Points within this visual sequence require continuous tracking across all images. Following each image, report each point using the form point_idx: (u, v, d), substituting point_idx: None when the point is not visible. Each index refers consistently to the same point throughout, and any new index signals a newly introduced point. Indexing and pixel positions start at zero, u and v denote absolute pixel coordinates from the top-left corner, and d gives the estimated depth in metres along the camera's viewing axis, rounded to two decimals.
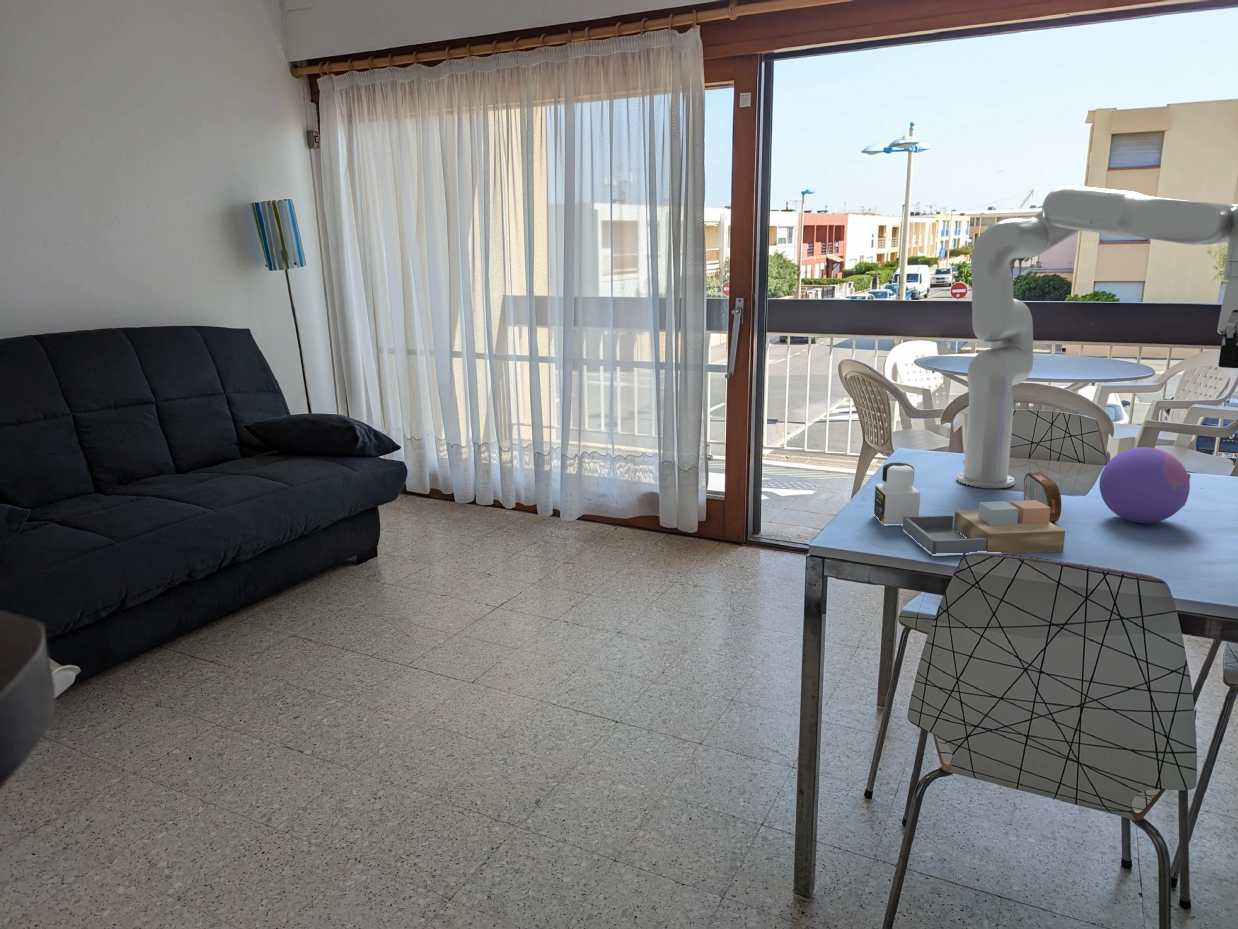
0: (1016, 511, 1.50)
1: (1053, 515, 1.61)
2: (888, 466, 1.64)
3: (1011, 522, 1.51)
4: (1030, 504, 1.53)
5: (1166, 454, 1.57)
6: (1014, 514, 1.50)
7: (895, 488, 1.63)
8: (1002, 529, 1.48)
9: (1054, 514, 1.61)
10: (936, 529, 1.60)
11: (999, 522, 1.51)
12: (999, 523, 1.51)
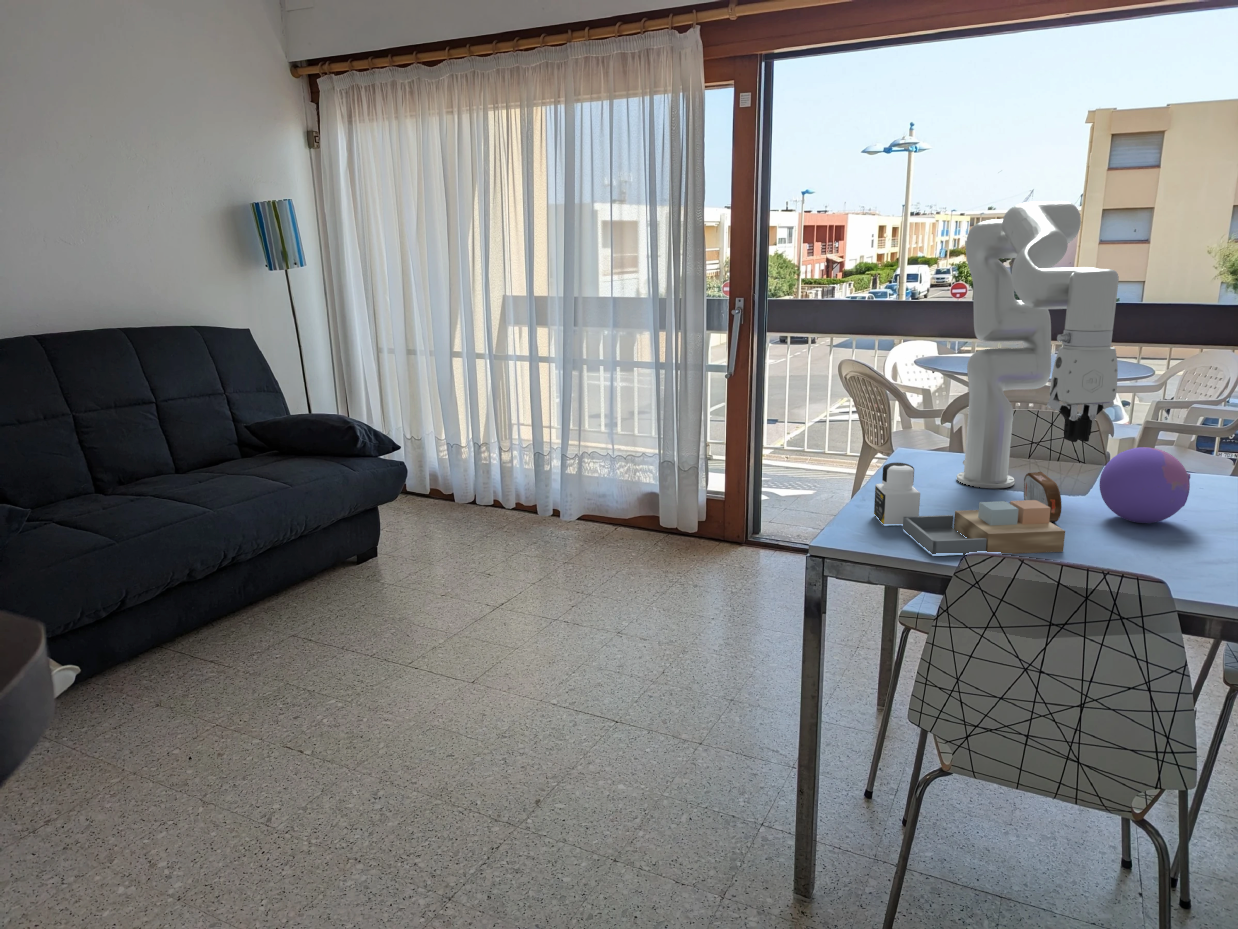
0: (1016, 511, 1.50)
1: (1053, 515, 1.61)
2: (888, 466, 1.64)
3: (1011, 522, 1.51)
4: (1030, 504, 1.53)
5: (1166, 454, 1.57)
6: (1014, 514, 1.50)
7: (895, 488, 1.63)
8: (1002, 529, 1.48)
9: (1054, 514, 1.61)
10: (936, 529, 1.60)
11: (999, 522, 1.51)
12: (999, 523, 1.51)
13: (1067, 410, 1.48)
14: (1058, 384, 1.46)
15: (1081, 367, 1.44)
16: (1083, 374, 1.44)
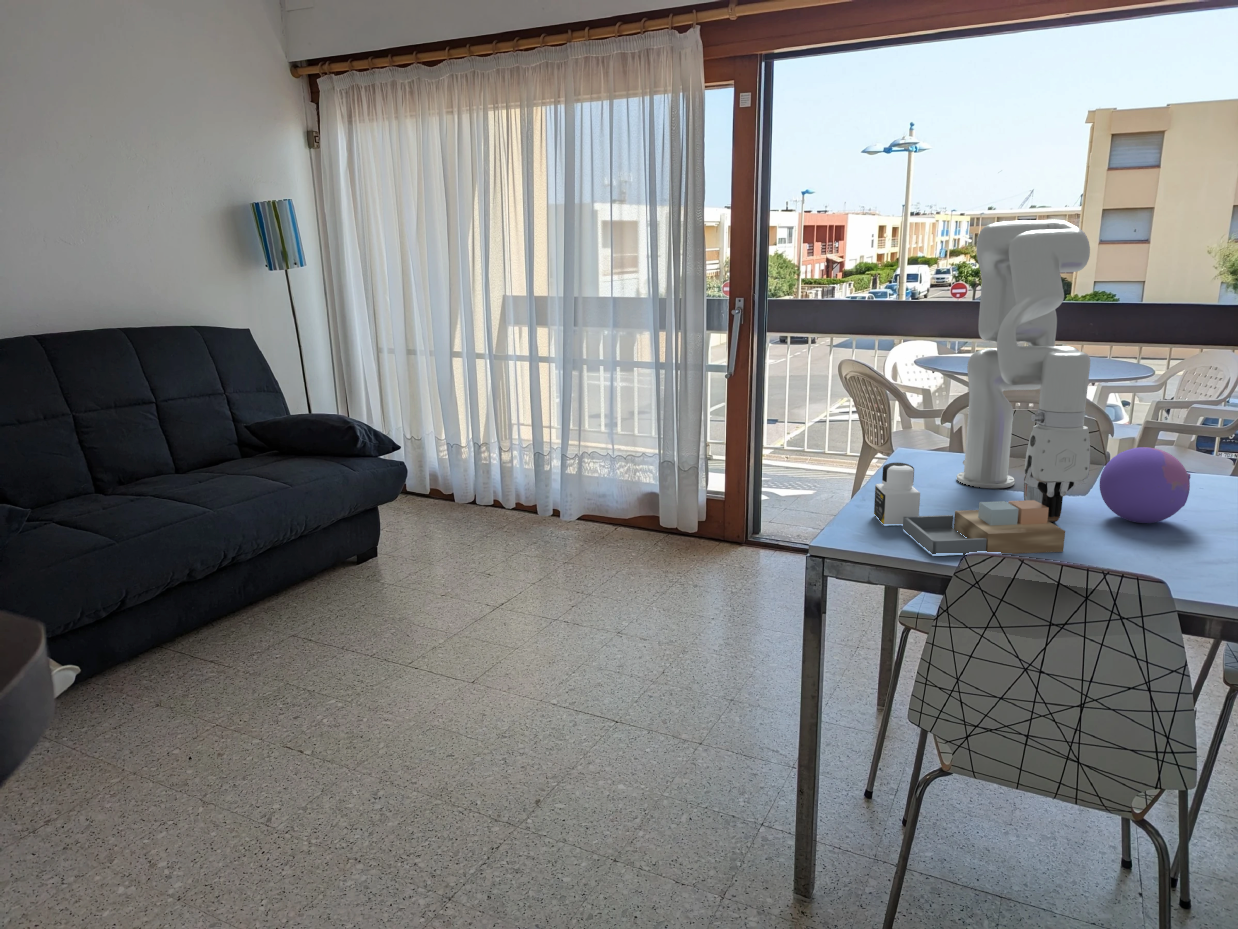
0: (1016, 511, 1.50)
1: None
2: (888, 466, 1.64)
3: (1011, 522, 1.51)
4: (1028, 504, 1.53)
5: (1166, 454, 1.57)
6: (1014, 514, 1.50)
7: (895, 488, 1.63)
8: (1002, 529, 1.48)
9: None
10: (936, 529, 1.60)
11: (999, 522, 1.51)
12: (999, 523, 1.51)
13: (1044, 486, 1.51)
14: (1032, 462, 1.50)
15: (1054, 446, 1.47)
16: (1056, 453, 1.48)
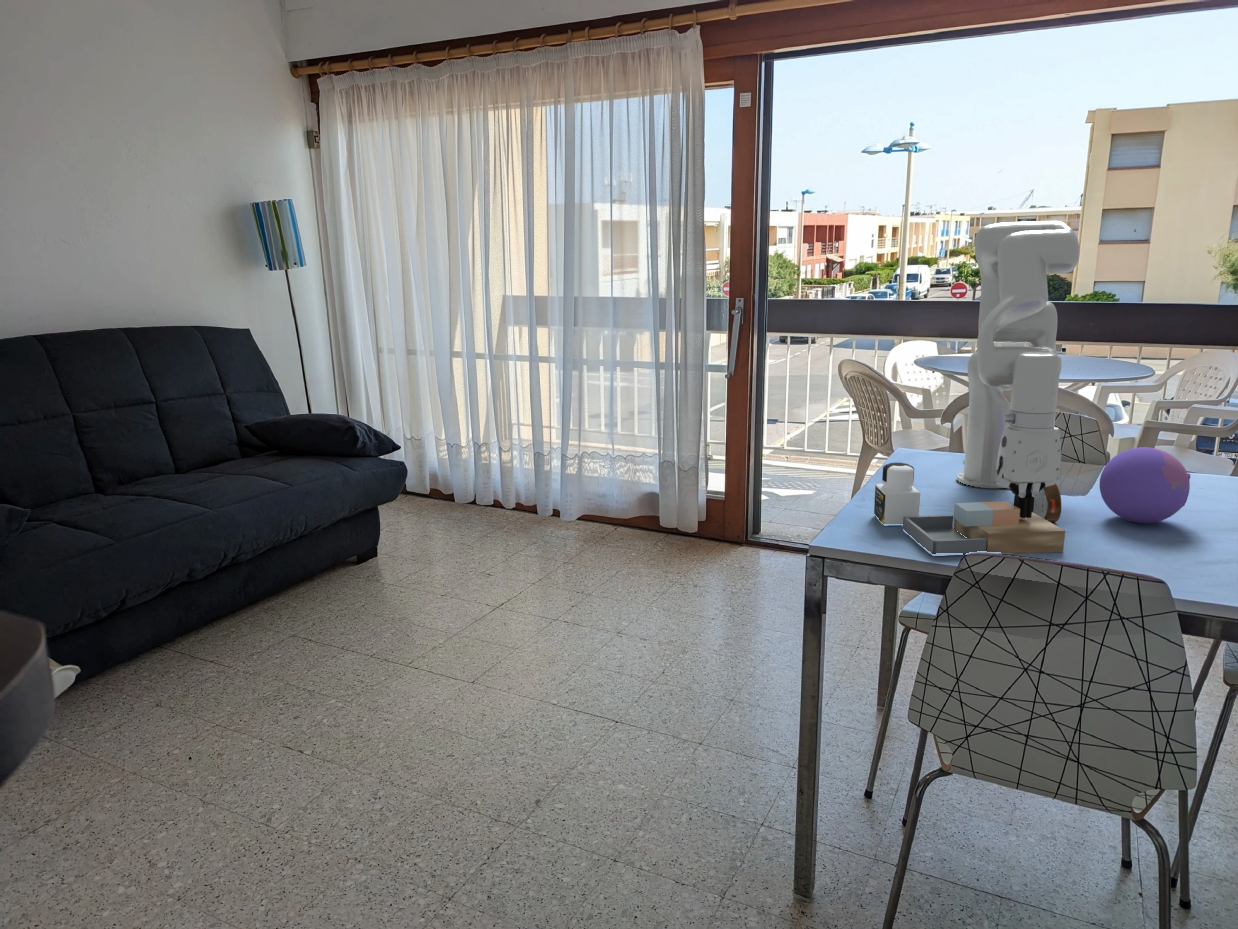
0: (991, 512, 1.50)
1: (1053, 515, 1.61)
2: (888, 466, 1.64)
3: (986, 523, 1.51)
4: (1000, 505, 1.53)
5: (1166, 454, 1.57)
6: (989, 515, 1.50)
7: (895, 488, 1.63)
8: (1002, 529, 1.48)
9: (1054, 514, 1.61)
10: (936, 529, 1.60)
11: (974, 523, 1.51)
12: (974, 524, 1.51)
13: (1016, 487, 1.51)
14: (1004, 463, 1.49)
15: (1025, 447, 1.47)
16: (1027, 454, 1.47)
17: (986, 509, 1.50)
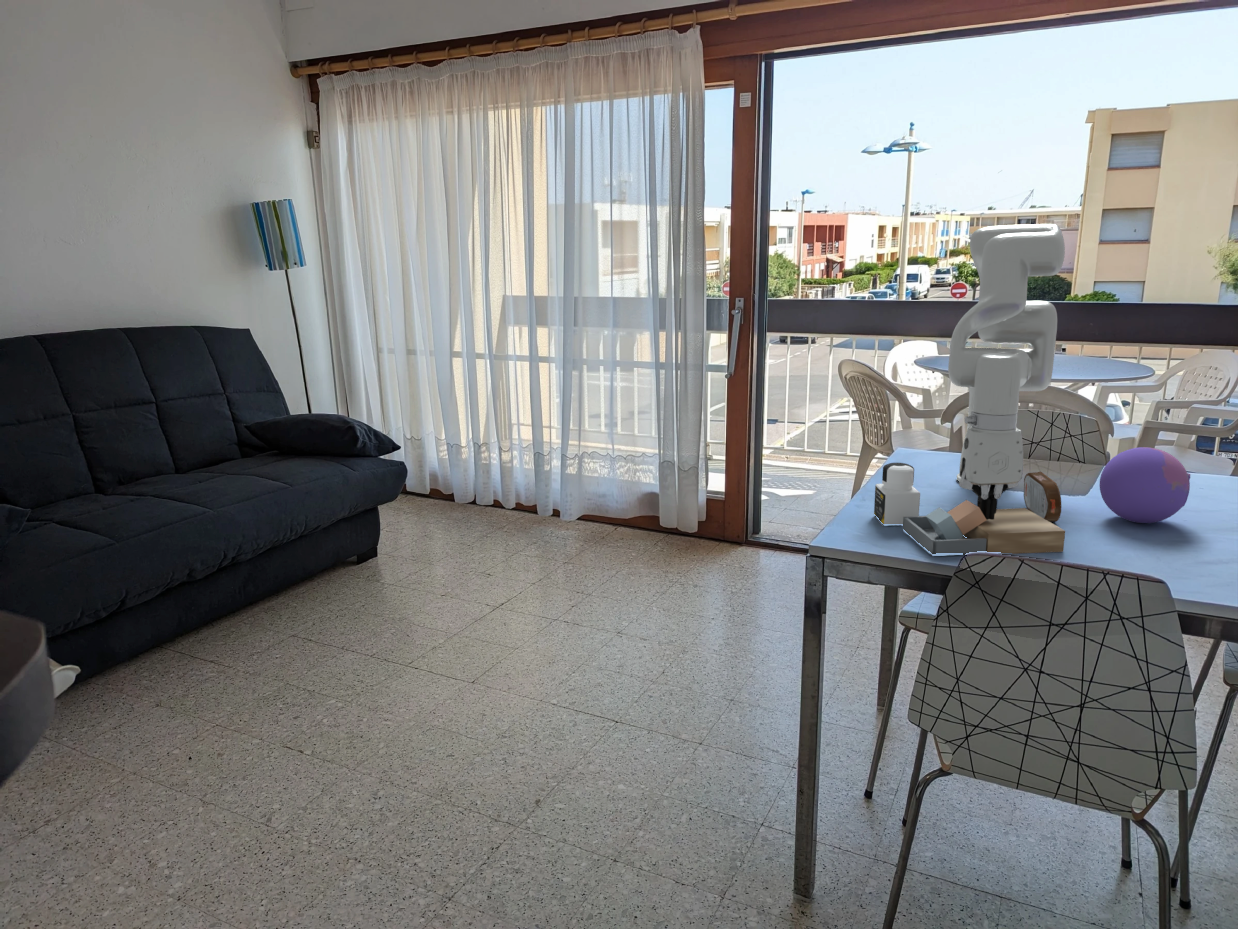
0: (940, 524, 1.50)
1: (1053, 515, 1.61)
2: (888, 466, 1.64)
3: (951, 521, 1.50)
4: (961, 510, 1.53)
5: (1166, 454, 1.57)
6: (943, 523, 1.50)
7: (895, 488, 1.63)
8: (1002, 529, 1.48)
9: (1054, 514, 1.61)
10: None
11: (957, 530, 1.51)
12: (957, 529, 1.51)
13: (979, 489, 1.51)
14: (966, 465, 1.49)
15: (987, 449, 1.47)
16: (989, 456, 1.47)
17: (938, 527, 1.51)
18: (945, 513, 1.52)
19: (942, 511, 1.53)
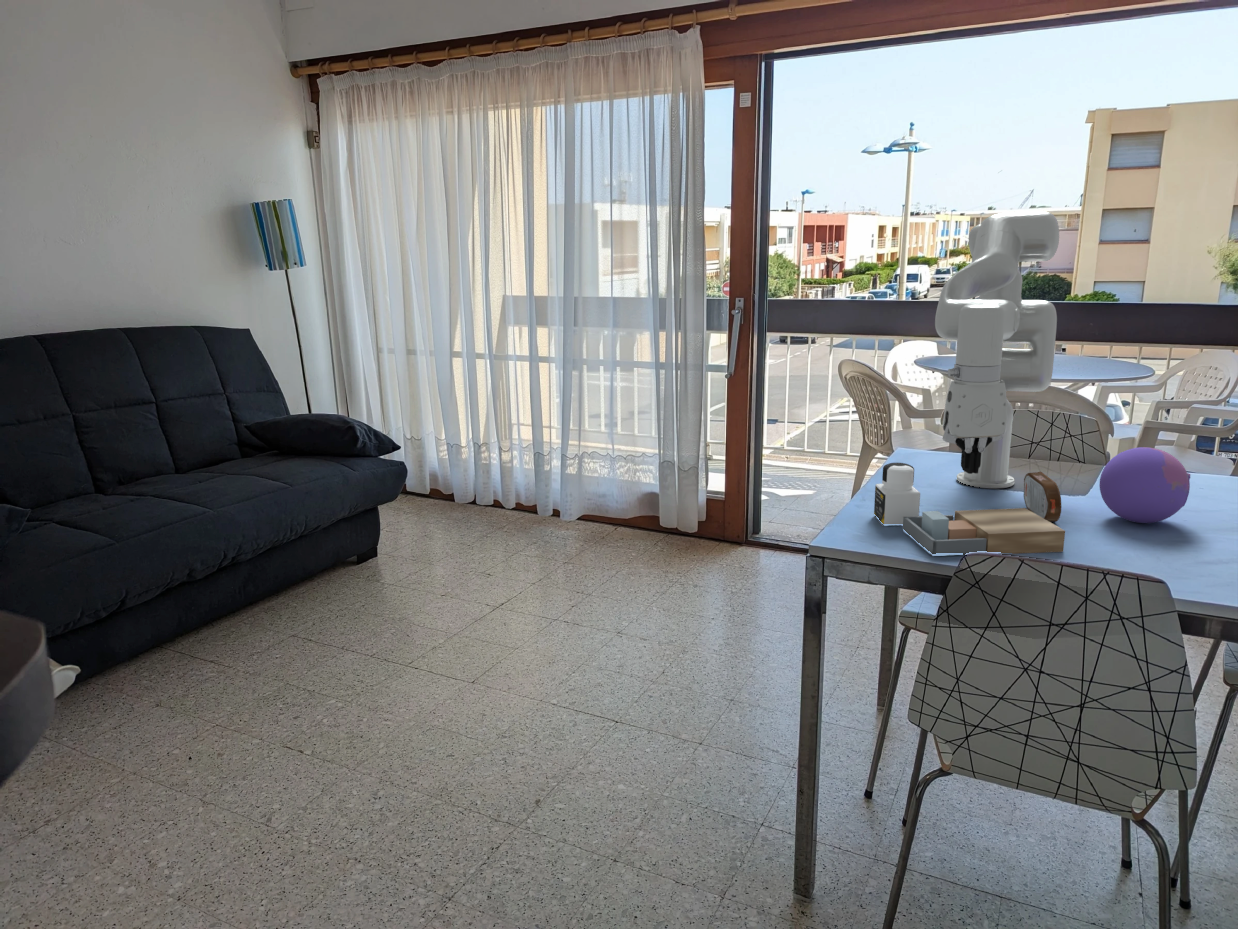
0: (935, 521, 1.50)
1: (1053, 515, 1.61)
2: (888, 466, 1.64)
3: (946, 524, 1.51)
4: (957, 524, 1.53)
5: (1166, 454, 1.57)
6: (938, 522, 1.51)
7: (895, 488, 1.63)
8: (1002, 529, 1.48)
9: (1054, 514, 1.61)
10: None
11: (945, 536, 1.51)
12: (946, 535, 1.51)
13: (962, 442, 1.49)
14: (949, 418, 1.47)
15: (970, 401, 1.45)
16: (972, 408, 1.45)
17: (931, 524, 1.51)
18: (943, 516, 1.52)
19: (940, 514, 1.53)
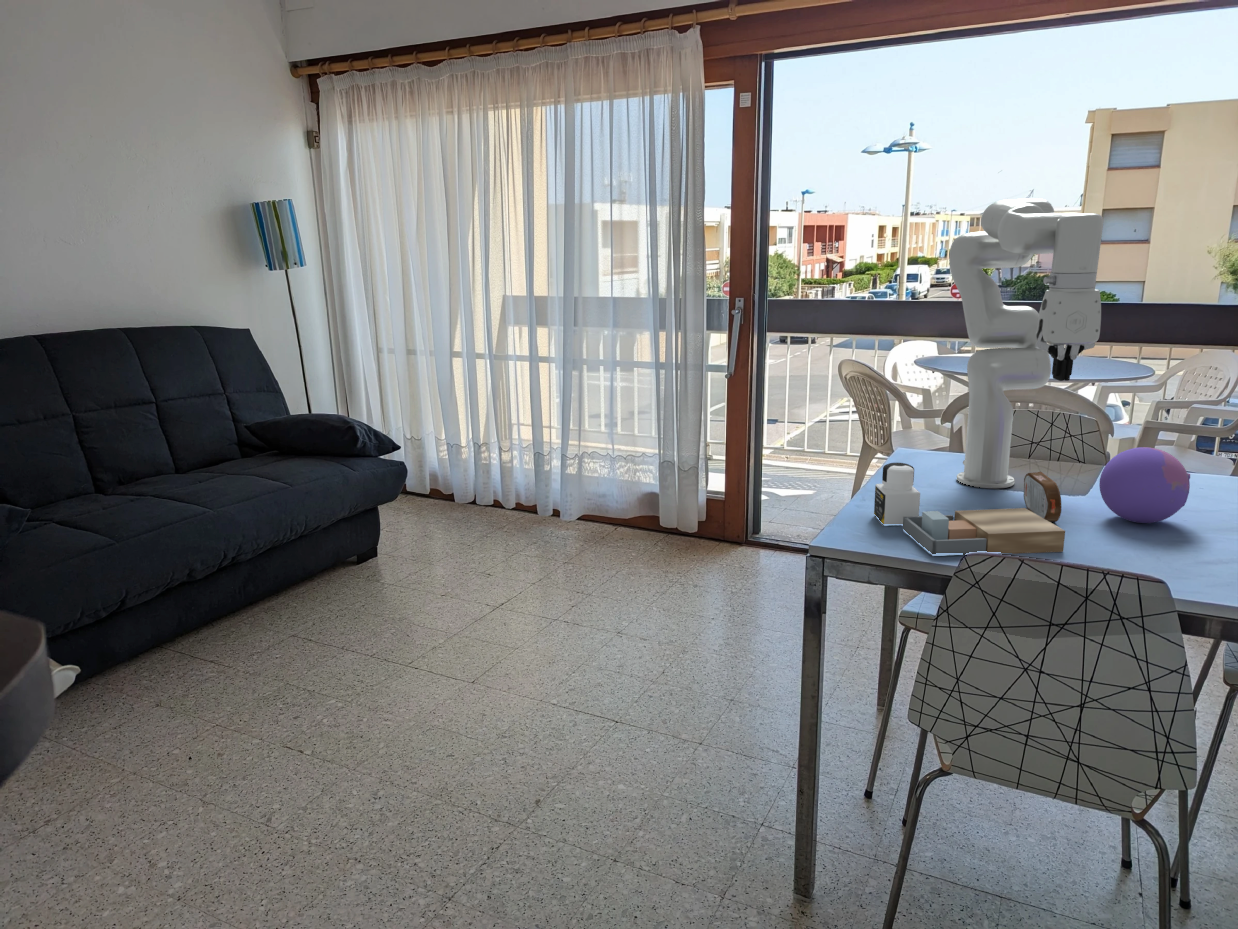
0: (935, 521, 1.50)
1: (1053, 515, 1.61)
2: (888, 466, 1.64)
3: (946, 524, 1.51)
4: (957, 524, 1.53)
5: (1166, 454, 1.57)
6: (938, 522, 1.51)
7: (895, 488, 1.63)
8: (1002, 529, 1.48)
9: (1054, 514, 1.61)
10: None
11: (945, 536, 1.51)
12: (946, 535, 1.51)
13: (1055, 350, 1.55)
14: (1043, 325, 1.53)
15: (1065, 308, 1.51)
16: (1067, 315, 1.51)
17: (931, 524, 1.51)
18: (943, 516, 1.52)
19: (940, 514, 1.53)
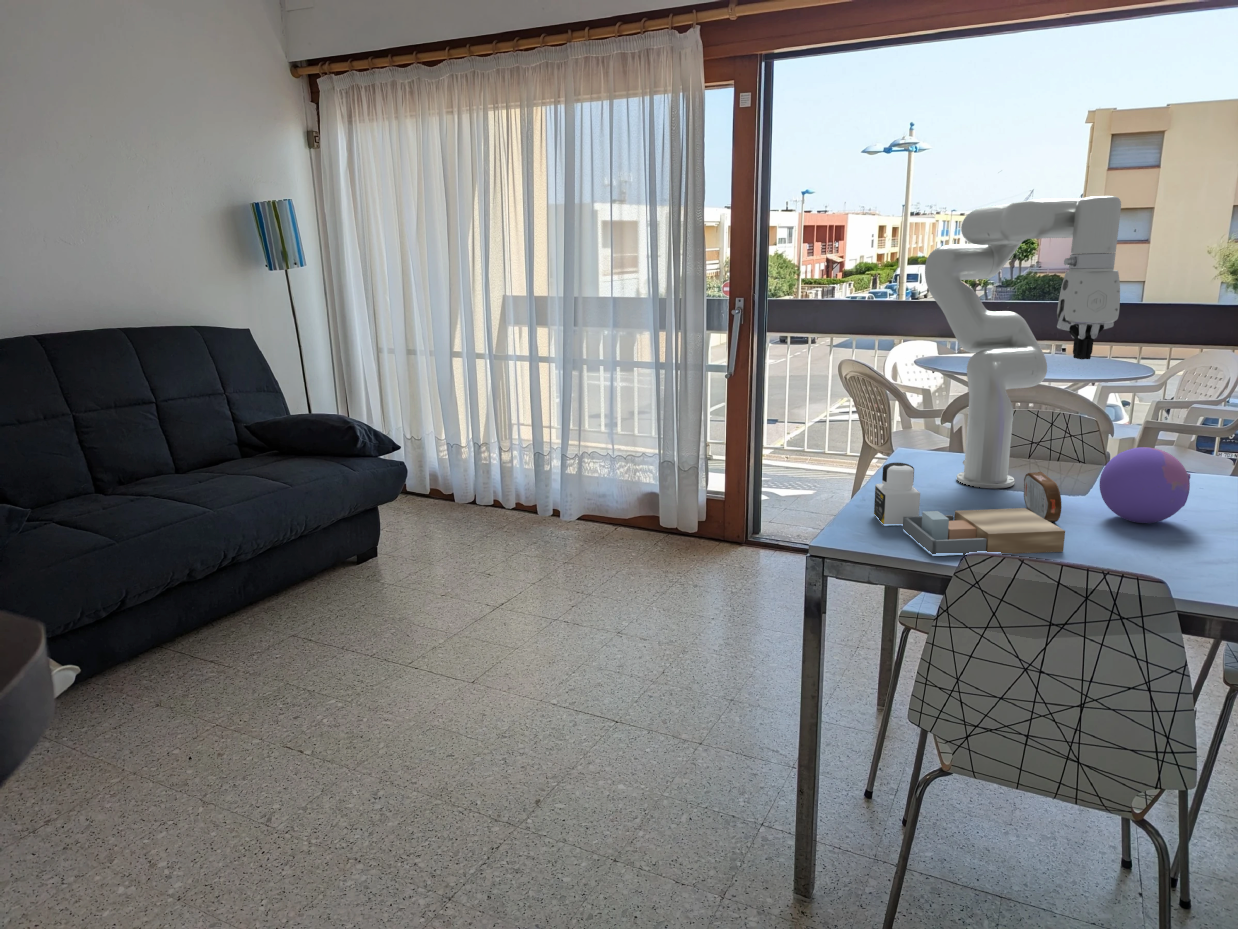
0: (935, 521, 1.50)
1: (1053, 515, 1.61)
2: (888, 466, 1.64)
3: (946, 524, 1.51)
4: (957, 524, 1.53)
5: (1166, 454, 1.57)
6: (938, 522, 1.51)
7: (895, 488, 1.63)
8: (1002, 529, 1.48)
9: (1054, 514, 1.61)
10: None
11: (945, 536, 1.51)
12: (946, 535, 1.51)
13: (1076, 329, 1.59)
14: (1065, 305, 1.58)
15: (1086, 288, 1.56)
16: (1088, 294, 1.56)
17: (931, 524, 1.51)
18: (943, 516, 1.52)
19: (940, 514, 1.53)
